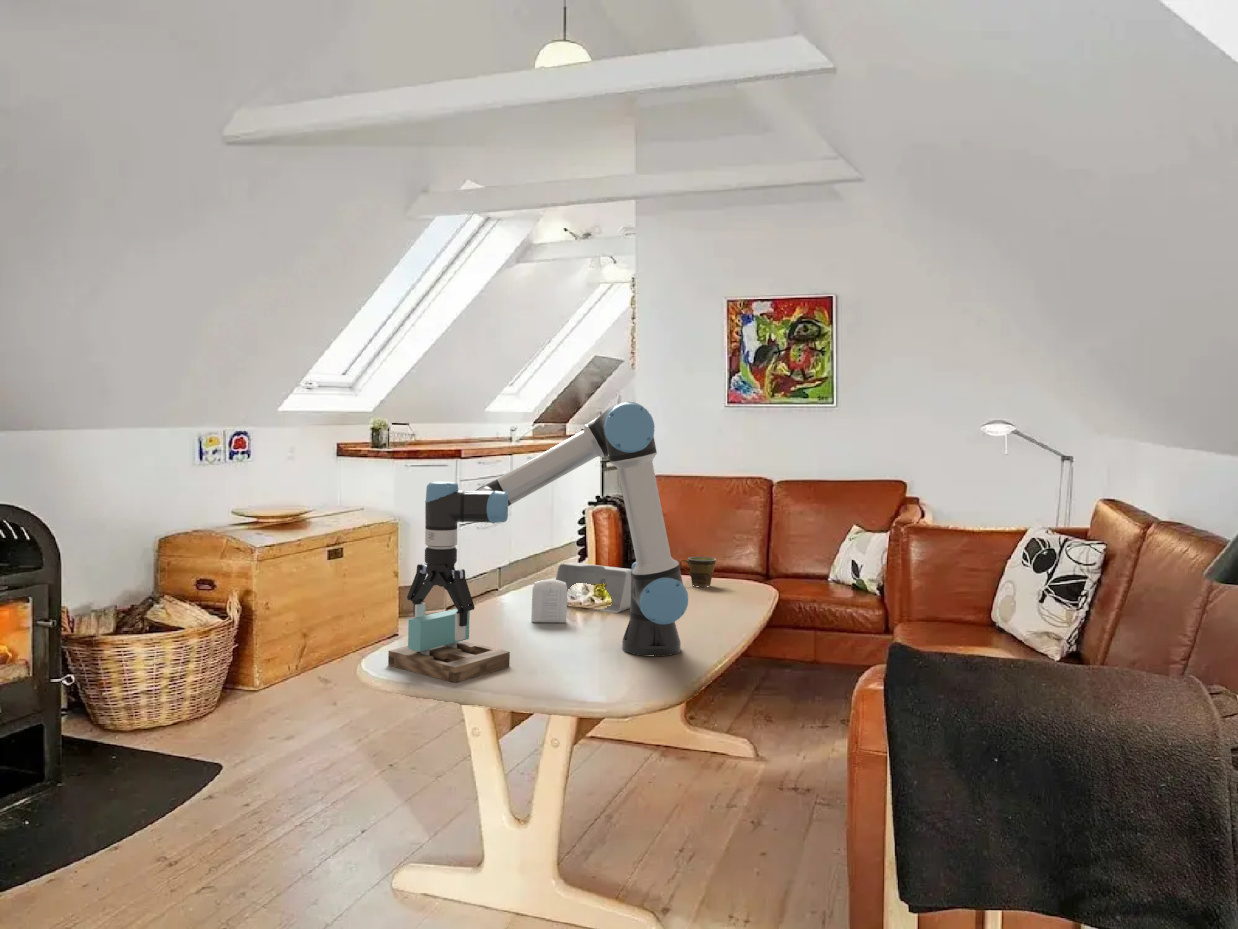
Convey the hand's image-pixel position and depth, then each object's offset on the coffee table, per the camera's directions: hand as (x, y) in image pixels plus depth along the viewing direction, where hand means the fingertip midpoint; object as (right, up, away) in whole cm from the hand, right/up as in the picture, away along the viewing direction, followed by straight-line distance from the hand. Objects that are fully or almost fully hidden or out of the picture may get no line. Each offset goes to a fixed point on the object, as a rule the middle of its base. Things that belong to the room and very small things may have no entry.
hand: (439, 635), depth 217 cm
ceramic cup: (+71, -4, +113) cm, 133 cm away
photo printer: (+22, -5, +48) cm, 53 cm away
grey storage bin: (+36, -5, +75) cm, 83 cm away
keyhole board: (+3, -7, -2) cm, 8 cm away
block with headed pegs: (0, -7, 0) cm, 7 cm away
